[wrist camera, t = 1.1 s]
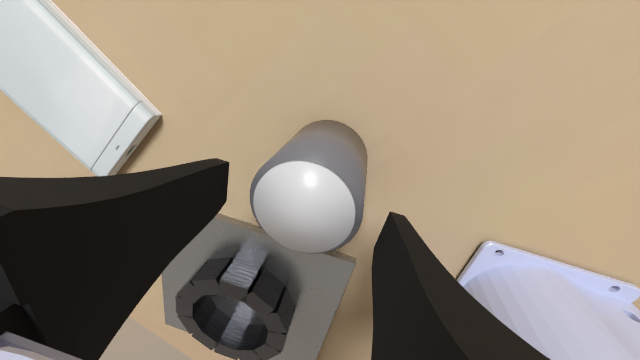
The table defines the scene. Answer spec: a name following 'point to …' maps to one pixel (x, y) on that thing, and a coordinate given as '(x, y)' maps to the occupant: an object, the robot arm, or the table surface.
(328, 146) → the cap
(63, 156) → the table surface
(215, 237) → the flat grey square plate
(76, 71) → the hard drive
